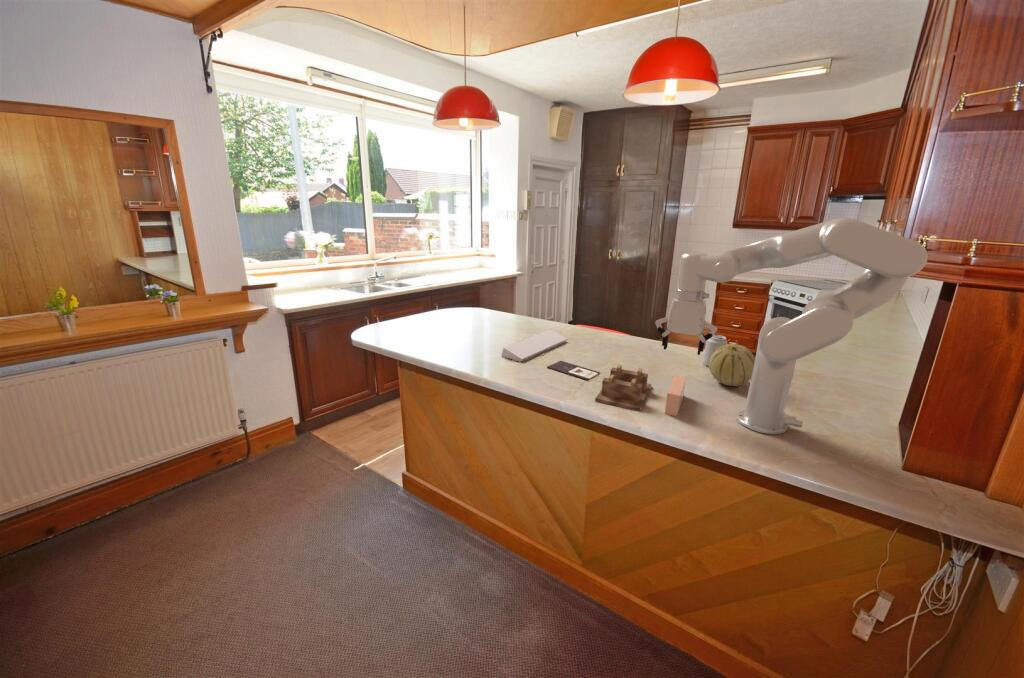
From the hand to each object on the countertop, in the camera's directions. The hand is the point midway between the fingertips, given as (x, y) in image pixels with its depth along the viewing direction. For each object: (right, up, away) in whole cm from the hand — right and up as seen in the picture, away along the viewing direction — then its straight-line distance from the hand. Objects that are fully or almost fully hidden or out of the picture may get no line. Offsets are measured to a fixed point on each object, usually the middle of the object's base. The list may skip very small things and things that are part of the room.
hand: (681, 350), depth 126 cm
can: (+28, -7, +38) cm, 48 cm away
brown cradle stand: (-14, -15, +13) cm, 24 cm away
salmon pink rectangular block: (0, -17, +6) cm, 18 cm away
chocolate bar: (-29, -9, +32) cm, 44 cm away
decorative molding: (-41, -2, +55) cm, 69 cm away
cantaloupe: (+25, -12, +21) cm, 35 cm away
